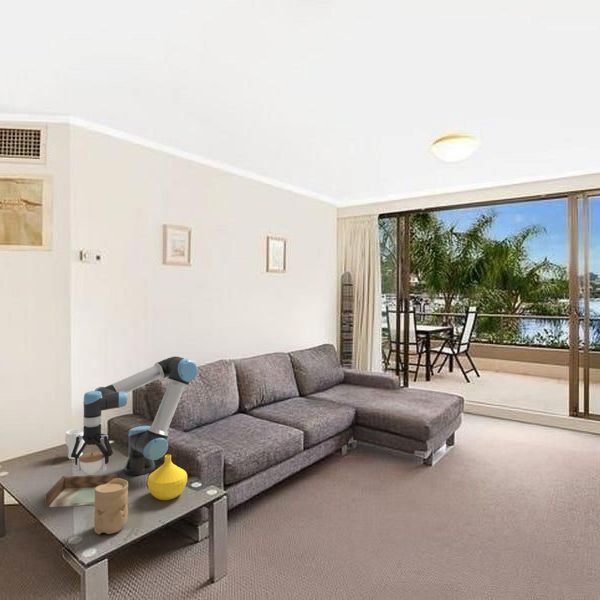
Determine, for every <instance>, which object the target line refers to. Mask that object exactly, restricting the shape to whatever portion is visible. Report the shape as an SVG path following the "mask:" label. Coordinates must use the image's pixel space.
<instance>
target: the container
mask: <svg viewBox="0 0 600 600" xmlns="http://www.w3.org/2000/svg"><path fill="white" fill-rule="evenodd" d="M128 488H129V481H128V480H126V479H124V478H120V477H118V478H116V479H112V480H111V481H110V482H108V483H107V484H104V485H99V486H98V487H96V488H95V505H94V522H93V523H94V532H95V533H96V534H97V535H99V536H100V535H101V534H102V533H105V534H106V535H112V534H116V533H118V532H119V531H121V529H123V527H124V526H125V525H126V523H127V522H128V517H129V509H128V508H129V505H128V500H129V490H128Z"/></svg>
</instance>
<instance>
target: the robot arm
mask: <svg viewBox="0 0 600 600" xmlns="http://www.w3.org/2000/svg"><path fill="white" fill-rule="evenodd" d="M198 372H199V371H198V365H197V364H196V363H195V361H194V360H192V359H189V358H186V357H185V358H184V357H181V356H171V357H168V358H164V359H163V360H160V361H157V362H155V363H154V364H153V366H151V367H148V368H146V369H144V370H142V371H139V372H136V373H135V374H132V375H130V376H128V377H126V378H123V379H121V380H118V381H117V382H114V383H112V384H109V385H107V386H99V387H97V388H95V390H89V391H87V392H85V393H84V395H83V402H82V403H83V427H82V429H83V436H80V435H78V436H77V437H76V443H75V446H74V449H73V451H72V454H71V457H74V458H75V459H74V463H75V466H76V469H77V471H76V473H80V472H81V471H82V470H81V468H80V460H79V456H80V454H81V453H83V451H84V450H85V448H86V447H87V446H91V445H92V446H96V447H97V448H98V449H99V452H102V454H103V455H104V457H103V466H102V472H103V473H105V472H106V470H107V465H108V464H109V457H111V456H112V455H114V451H113V450H112V446H111V443H110V440H109V435H108V434H106V435H103V434H102V424H101V423H102V412H103V411H108V410H113V409H120V408H123V407H126V405H127V404H128V401H129V400H128V393H130V392H132V391H134V390H137V389H140V388H141V387H143V386H145V385H148V384H150V383H153V382H155V381H156V380H159V379H161V380H163V379H165V378H167V382H168V385H167V387H166V390H165V393H164V395H163V397H162V400H161V402H160V404H159V407H158V410H157V412H156V414H155V416H154V420H153V421H152V424H151V426H150V425H139V426H135V427H133V428H131V429H129V430H128V456H127V460H126V463H125V465H124V472H125V474H127V475H129V476H141V475H145V474H148V473H150V472H151V473H152V471H153V470H155V461H157V460H160V459H161V458H163V457H165V455H166V453H167V451H168V449H169V444H168V443H169V442H168V438H169V433H168V430H169V428H170V425H171V423H172V420H173V418H174V416H175V413H176V410H177V407H178V405H179V402H180V399H181V397H182V396H183V395H182V394H183V392H184V390H185V388H187V387H189V385H190V383H191V382H192V381H193V380H194V379H195V378H196V377H197V375H198ZM82 439H83V440H84V441H85V442H84V444H83V446H82V447H81V449H80V450H79V452H78V453H77V454H76V452H77V449H78V446H79V444H80V441H81V440H82ZM101 440H103V442H104V445H103V443H102V441H101Z"/></svg>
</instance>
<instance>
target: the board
mask: <svg viewBox="0 0 600 600" xmlns="http://www.w3.org/2000/svg"><path fill="white" fill-rule="evenodd" d="M89 488H96V487H89ZM81 489H84V488H66V489H64V490H63V491H62V492H61V493H60V494H59V496H58V497H57V498H56V499H55V500H54V501H53V502H52V503H51V504H50V506H46V505H45V508H57V507H58V508H62V507H77V506H78V507H81V506H95V503H77V504H70V503H71V502H72V500H73V499H74V498H75V497H76V495H77V494H78V493H79V492H80V490H81Z"/></svg>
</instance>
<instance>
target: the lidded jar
mask: <svg viewBox="0 0 600 600" xmlns="http://www.w3.org/2000/svg"><path fill="white" fill-rule="evenodd" d="M103 457H104V455H103V454H102V452H101V451H96V450H95V451H89V452H86V453H83V455H81V456H80V457H79V460H80V468H81V471H82V472H83V473H84V474H85V475H96V474H98V473H99V472H100V471H101V469H103Z"/></svg>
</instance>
